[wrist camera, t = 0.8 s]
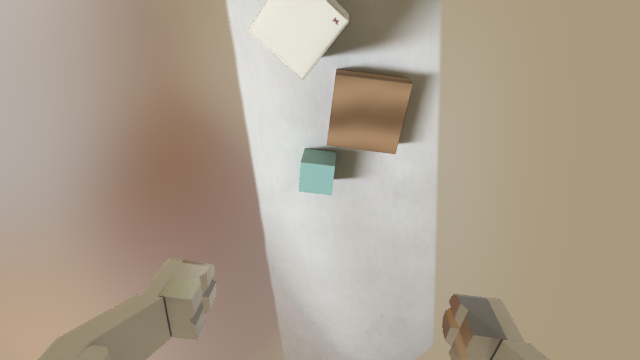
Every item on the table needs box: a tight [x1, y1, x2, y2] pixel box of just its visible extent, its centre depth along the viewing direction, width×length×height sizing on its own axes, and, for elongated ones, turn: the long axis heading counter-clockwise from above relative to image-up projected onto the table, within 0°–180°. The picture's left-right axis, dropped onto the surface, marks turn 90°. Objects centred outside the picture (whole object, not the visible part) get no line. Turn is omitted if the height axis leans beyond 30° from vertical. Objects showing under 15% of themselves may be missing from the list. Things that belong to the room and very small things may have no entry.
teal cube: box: [299, 149, 336, 195], centre depth 50 cm, size 5×5×5 cm
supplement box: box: [248, 0, 349, 79], centre depth 37 cm, size 7×7×13 cm
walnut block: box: [327, 69, 413, 154], centre depth 46 cm, size 10×10×4 cm
